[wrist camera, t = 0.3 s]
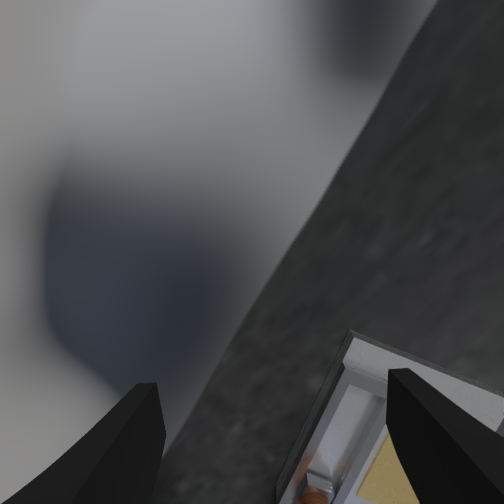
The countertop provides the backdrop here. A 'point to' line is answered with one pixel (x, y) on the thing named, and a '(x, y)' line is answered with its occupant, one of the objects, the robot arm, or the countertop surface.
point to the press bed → (370, 424)
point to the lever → (314, 491)
